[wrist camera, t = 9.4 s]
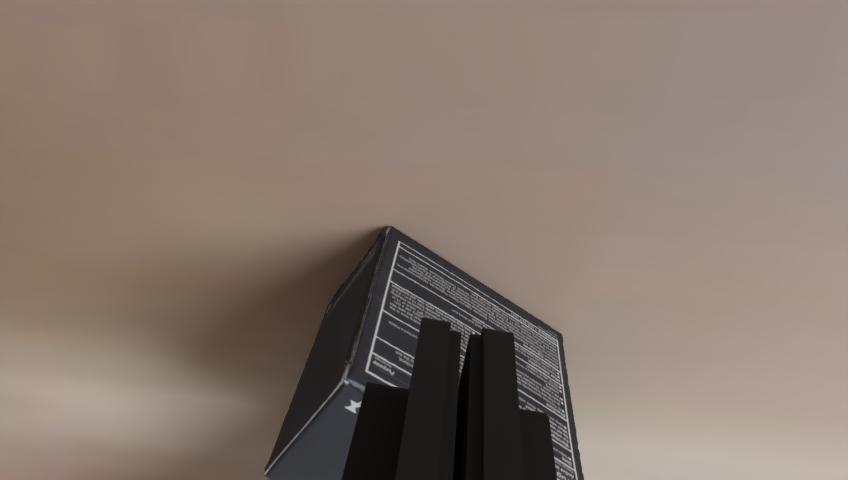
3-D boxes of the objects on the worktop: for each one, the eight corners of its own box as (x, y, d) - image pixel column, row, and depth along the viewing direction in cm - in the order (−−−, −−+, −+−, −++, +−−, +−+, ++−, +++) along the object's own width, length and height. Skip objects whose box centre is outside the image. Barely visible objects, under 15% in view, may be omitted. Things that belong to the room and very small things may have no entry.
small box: (319, 311, 32) (250, 481, 22) (388, 219, 29) (341, 370, 19) (488, 410, 34) (488, 602, 25) (567, 333, 31) (601, 518, 22)
